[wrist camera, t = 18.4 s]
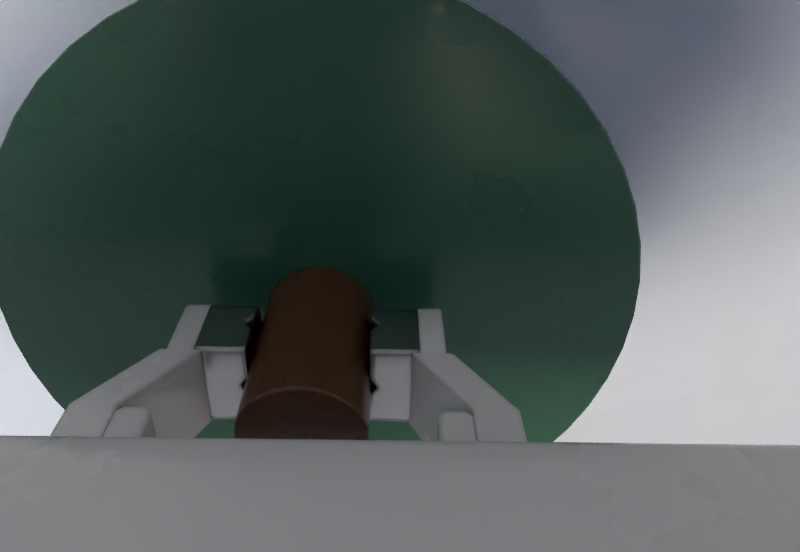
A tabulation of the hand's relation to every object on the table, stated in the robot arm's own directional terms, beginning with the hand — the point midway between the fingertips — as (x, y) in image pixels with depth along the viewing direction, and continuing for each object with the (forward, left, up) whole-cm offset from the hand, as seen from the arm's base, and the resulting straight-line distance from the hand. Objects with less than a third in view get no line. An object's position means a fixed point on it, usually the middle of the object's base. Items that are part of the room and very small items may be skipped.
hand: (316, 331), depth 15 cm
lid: (0, 0, -1) cm, 1 cm away
